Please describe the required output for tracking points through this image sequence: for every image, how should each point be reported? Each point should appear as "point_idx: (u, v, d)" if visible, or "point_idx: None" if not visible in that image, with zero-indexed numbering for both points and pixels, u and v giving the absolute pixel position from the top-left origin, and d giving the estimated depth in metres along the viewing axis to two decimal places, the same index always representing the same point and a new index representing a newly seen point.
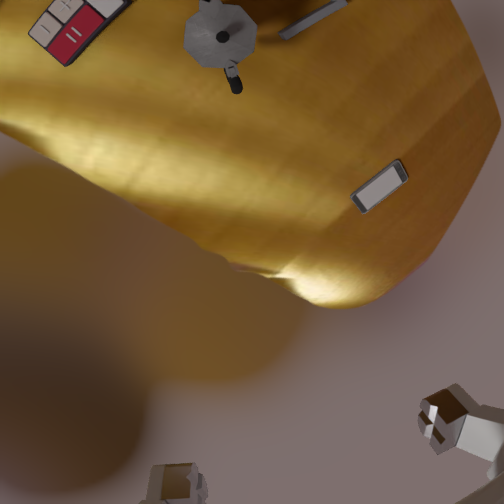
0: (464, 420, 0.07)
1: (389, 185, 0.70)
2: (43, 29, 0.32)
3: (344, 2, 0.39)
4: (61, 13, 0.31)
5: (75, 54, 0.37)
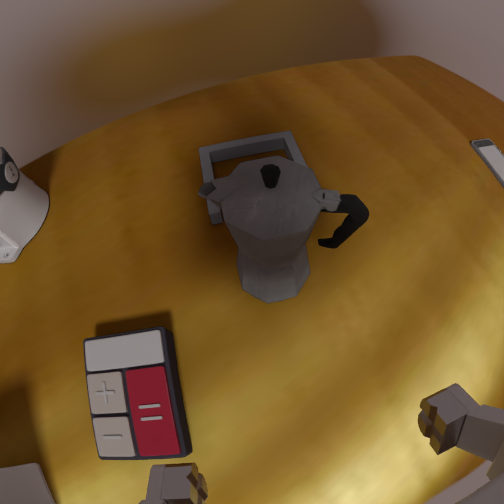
0: (464, 420, 0.07)
1: (498, 157, 0.47)
2: (110, 438, 0.28)
3: (287, 132, 0.49)
4: (111, 404, 0.30)
5: (180, 432, 0.29)
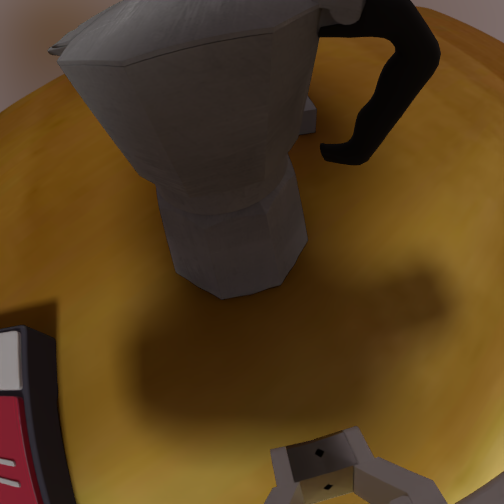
0: (353, 470, 0.07)
1: None
2: None
3: None
4: None
5: None
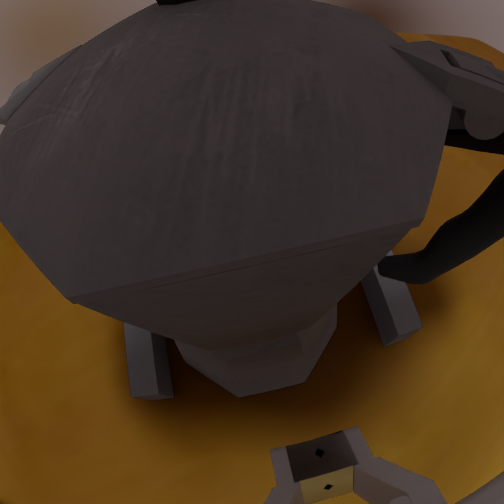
0: (353, 470, 0.07)
1: None
2: None
3: None
4: None
5: None
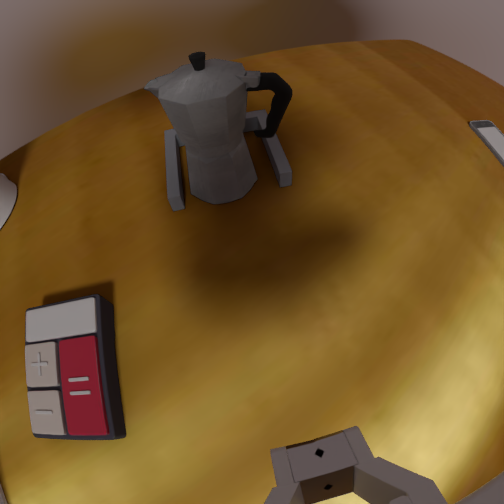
0: (353, 470, 0.07)
1: (499, 138, 0.42)
2: (42, 413, 0.24)
3: (261, 111, 0.43)
4: (44, 376, 0.26)
5: (108, 410, 0.25)
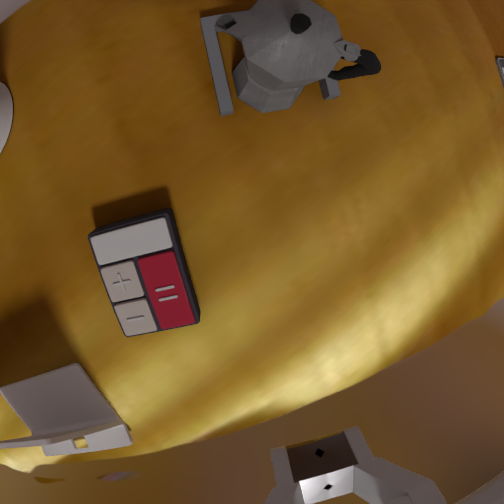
0: (353, 470, 0.07)
1: None
2: (134, 319, 0.39)
3: None
4: (129, 291, 0.38)
5: (192, 304, 0.40)
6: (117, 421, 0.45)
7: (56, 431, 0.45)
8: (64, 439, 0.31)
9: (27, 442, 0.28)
